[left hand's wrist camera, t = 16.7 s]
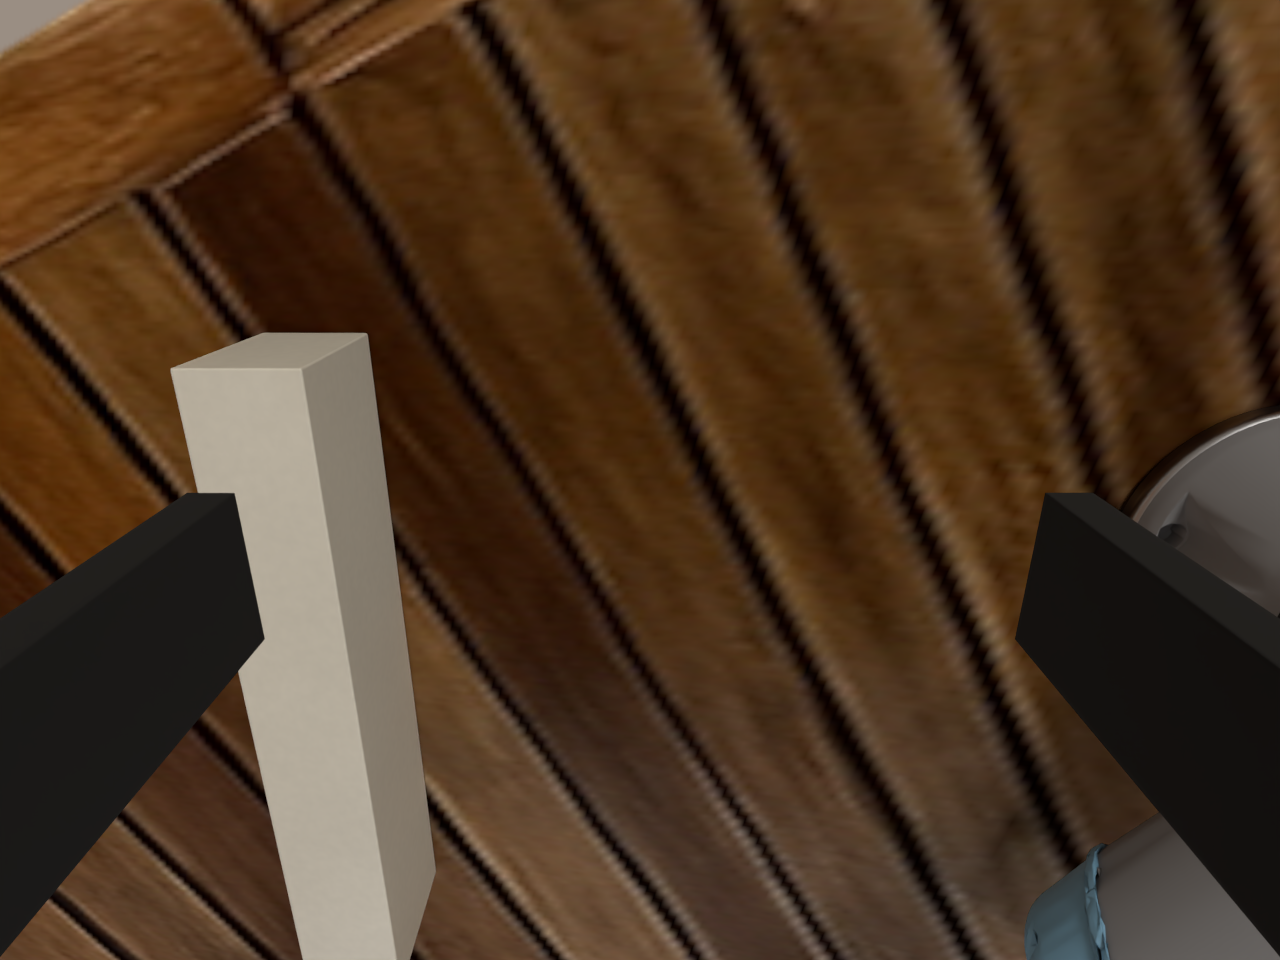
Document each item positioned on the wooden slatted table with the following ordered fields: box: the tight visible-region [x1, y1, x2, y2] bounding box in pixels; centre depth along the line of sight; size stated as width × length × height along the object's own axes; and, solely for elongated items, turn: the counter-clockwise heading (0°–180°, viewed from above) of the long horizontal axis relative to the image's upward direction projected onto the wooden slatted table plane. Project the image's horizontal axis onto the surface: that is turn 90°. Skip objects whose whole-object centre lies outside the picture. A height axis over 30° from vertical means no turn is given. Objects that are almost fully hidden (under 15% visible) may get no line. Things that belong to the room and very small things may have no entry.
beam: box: [171, 333, 436, 960], centre depth 38 cm, size 34×5×8 cm, turn 0°
